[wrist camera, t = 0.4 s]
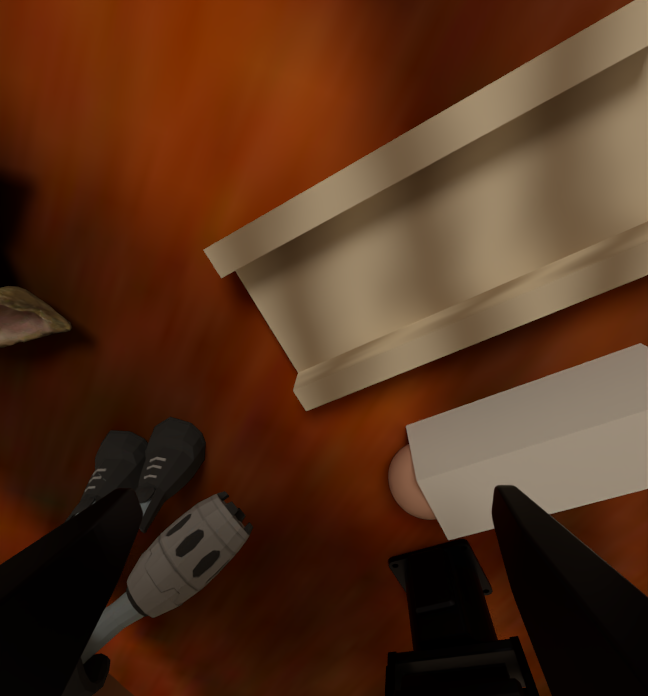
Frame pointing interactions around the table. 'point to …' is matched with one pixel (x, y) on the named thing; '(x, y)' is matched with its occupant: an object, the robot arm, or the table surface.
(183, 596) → the robot
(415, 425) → the white bar with tab
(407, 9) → the table surface
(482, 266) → the cradle
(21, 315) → the ceramic sculpture
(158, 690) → the table surface
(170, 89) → the table surface
